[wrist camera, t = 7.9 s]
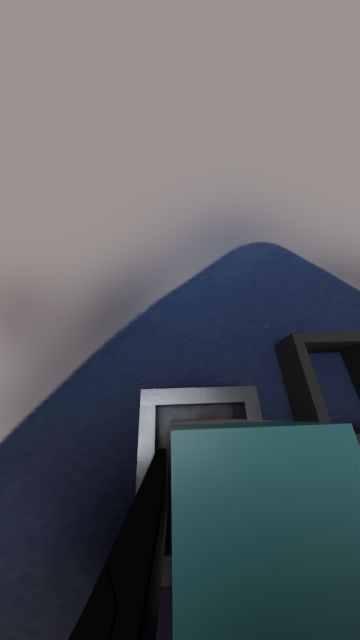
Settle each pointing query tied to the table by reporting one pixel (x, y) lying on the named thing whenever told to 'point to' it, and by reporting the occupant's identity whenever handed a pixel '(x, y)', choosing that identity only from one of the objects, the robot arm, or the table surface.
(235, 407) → the port
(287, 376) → the frame
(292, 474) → the plug
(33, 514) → the table surface
